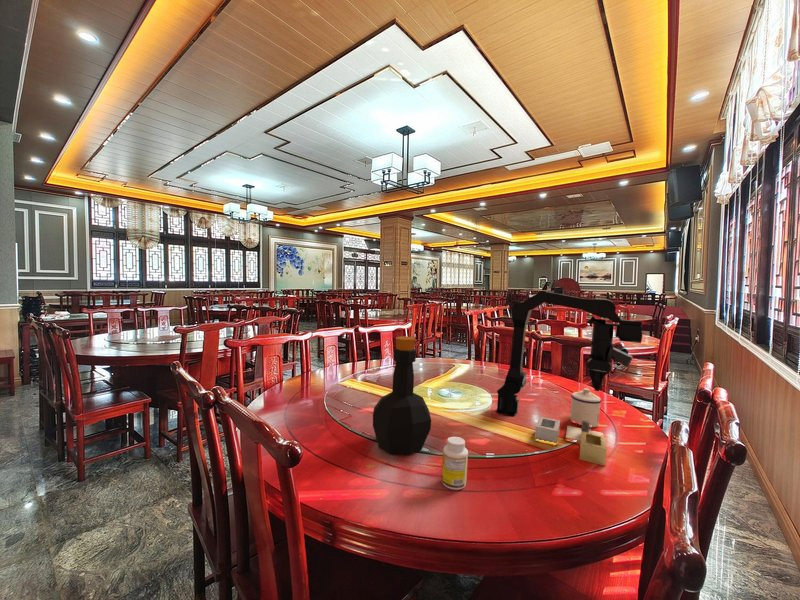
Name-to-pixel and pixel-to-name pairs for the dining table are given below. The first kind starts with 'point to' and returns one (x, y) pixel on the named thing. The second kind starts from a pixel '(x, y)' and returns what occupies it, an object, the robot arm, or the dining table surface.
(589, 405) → the teacup with lid
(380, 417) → the bottle
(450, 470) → the supplement bottle
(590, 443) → the link
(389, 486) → the dining table surface
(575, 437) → the keeper
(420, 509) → the dining table surface
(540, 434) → the link
